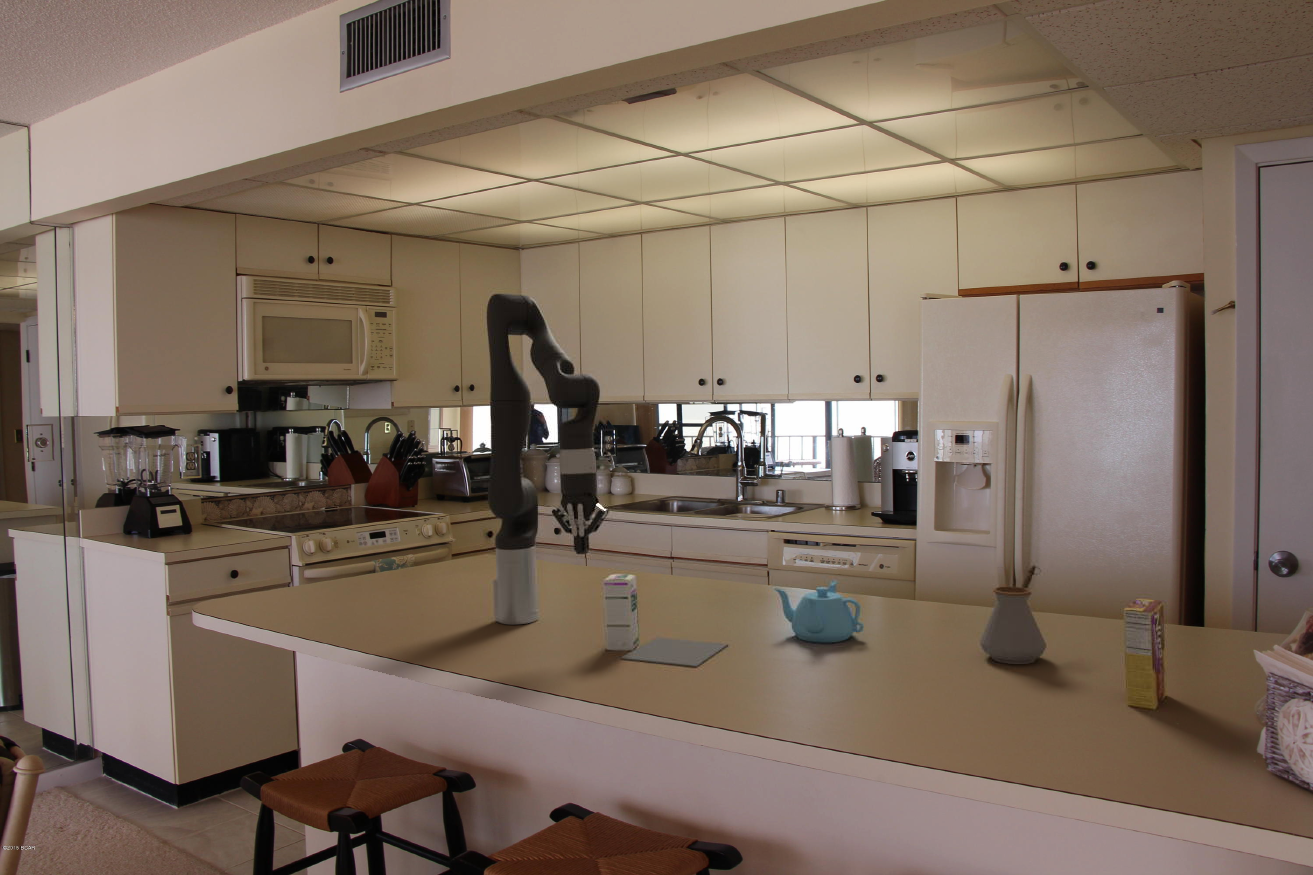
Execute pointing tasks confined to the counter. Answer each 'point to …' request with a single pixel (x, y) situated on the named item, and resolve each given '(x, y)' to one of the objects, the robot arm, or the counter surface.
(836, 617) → the teapot
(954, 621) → the counter surface
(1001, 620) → the coffee pot
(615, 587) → the syrup box
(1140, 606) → the candy box
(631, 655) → the mat
